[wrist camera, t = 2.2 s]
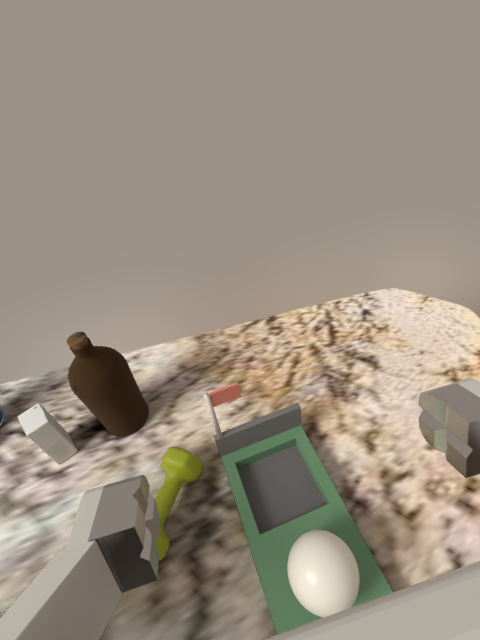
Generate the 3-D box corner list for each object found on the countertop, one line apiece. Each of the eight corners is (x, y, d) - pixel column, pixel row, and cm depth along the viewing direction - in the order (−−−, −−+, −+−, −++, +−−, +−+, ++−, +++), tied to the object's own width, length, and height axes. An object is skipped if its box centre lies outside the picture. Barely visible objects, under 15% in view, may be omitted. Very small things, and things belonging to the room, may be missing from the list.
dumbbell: (173, 457, 65) (163, 439, 60) (210, 469, 62) (202, 451, 57) (125, 551, 54) (107, 538, 49) (166, 571, 51) (152, 559, 47)
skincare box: (49, 446, 70) (16, 415, 62) (68, 433, 72) (39, 401, 64) (59, 466, 67) (25, 436, 59) (79, 451, 68) (49, 420, 61)
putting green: (406, 628, 43) (455, 600, 29) (295, 689, 41) (290, 689, 27) (298, 428, 66) (296, 359, 52) (222, 459, 63) (199, 394, 49)
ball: (334, 642, 41) (339, 635, 35) (275, 584, 46) (271, 568, 40) (367, 573, 46) (377, 555, 40) (310, 526, 50) (311, 505, 45)
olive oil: (147, 437, 69) (97, 357, 52) (98, 442, 69) (33, 365, 53) (154, 394, 77) (113, 313, 60) (110, 399, 77) (57, 321, 61)
